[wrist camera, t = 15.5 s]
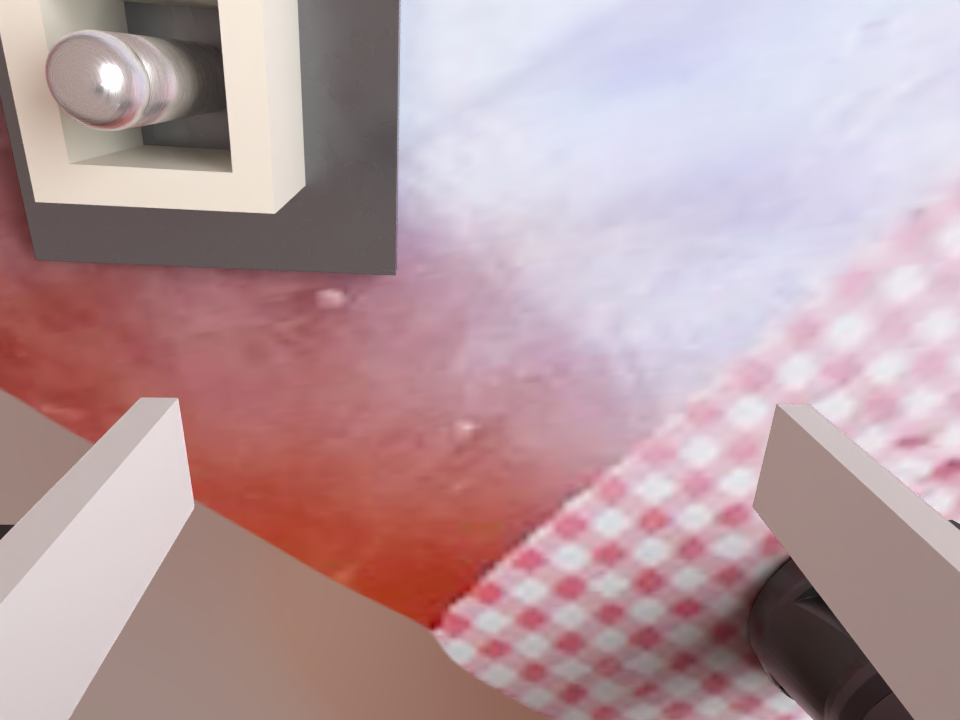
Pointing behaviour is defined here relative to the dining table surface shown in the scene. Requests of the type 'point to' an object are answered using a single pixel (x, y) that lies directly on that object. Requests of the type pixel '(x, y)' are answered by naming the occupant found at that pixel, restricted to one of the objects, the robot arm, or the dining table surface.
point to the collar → (121, 154)
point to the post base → (204, 124)
